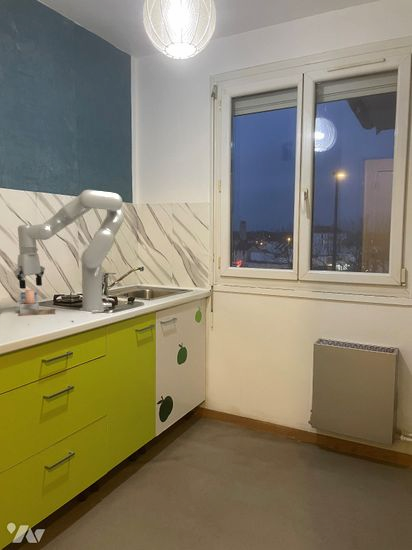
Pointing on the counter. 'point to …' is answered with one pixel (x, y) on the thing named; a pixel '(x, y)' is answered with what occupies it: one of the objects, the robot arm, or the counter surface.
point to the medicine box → (22, 296)
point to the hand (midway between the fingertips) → (31, 286)
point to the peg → (29, 297)
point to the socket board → (33, 310)
